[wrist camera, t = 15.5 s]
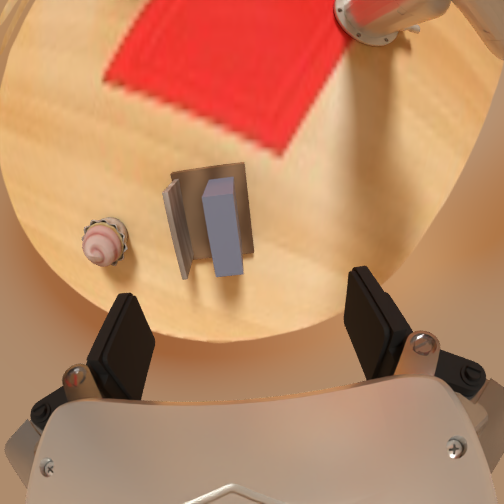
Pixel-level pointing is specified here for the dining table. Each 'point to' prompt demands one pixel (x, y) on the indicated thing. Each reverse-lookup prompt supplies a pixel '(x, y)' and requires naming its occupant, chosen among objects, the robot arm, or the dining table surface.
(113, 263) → the cupcake
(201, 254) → the bent wood veneer panel
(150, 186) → the dining table surface
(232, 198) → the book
